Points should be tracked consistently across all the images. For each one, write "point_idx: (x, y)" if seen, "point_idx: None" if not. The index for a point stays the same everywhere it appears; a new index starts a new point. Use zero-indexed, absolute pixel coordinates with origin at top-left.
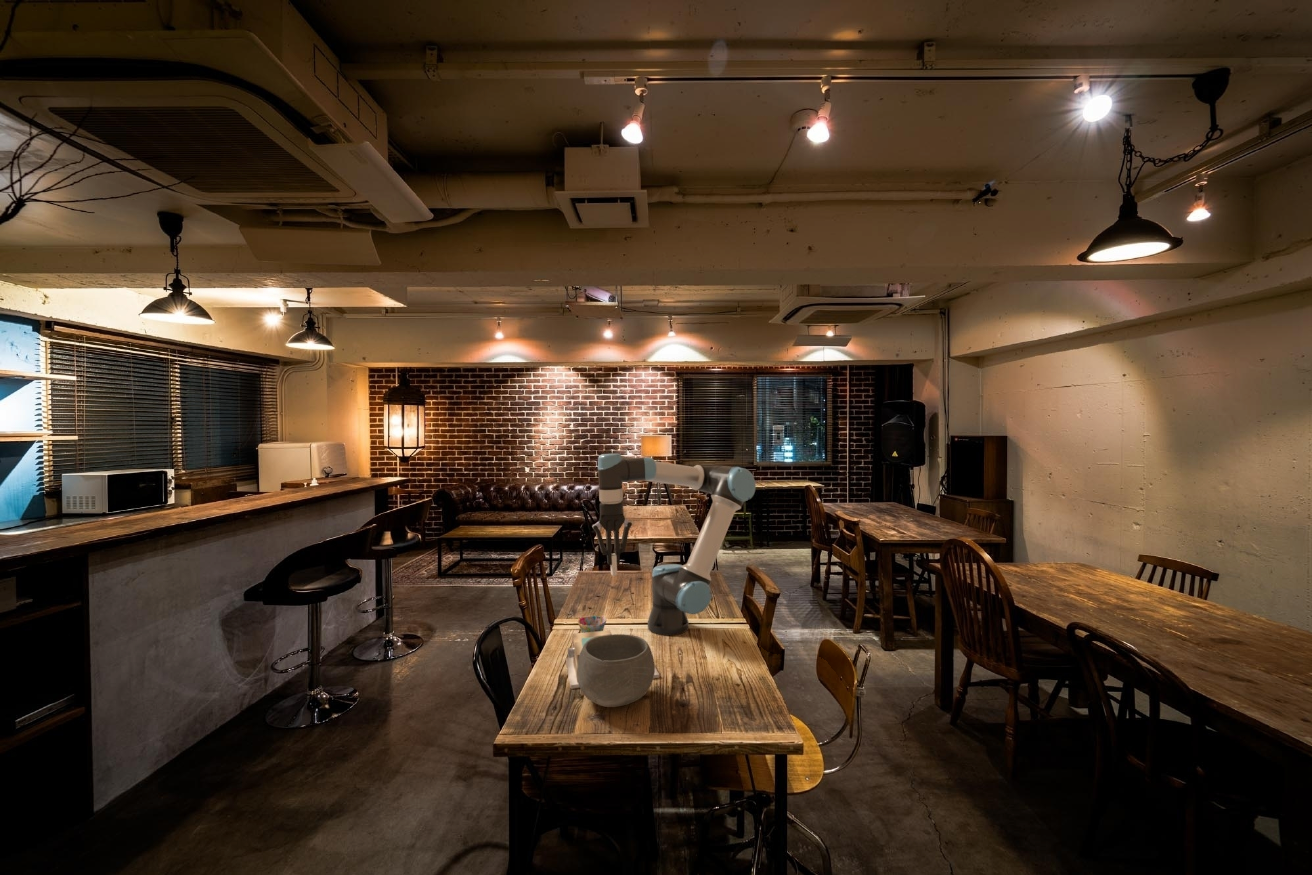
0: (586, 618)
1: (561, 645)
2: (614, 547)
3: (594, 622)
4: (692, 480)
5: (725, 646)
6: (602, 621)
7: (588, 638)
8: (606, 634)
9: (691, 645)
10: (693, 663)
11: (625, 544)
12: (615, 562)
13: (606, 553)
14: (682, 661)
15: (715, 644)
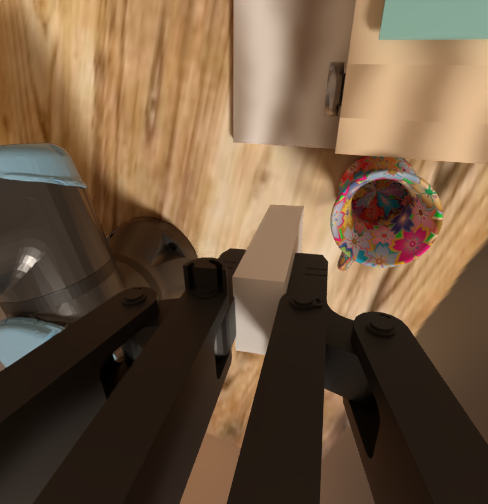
0: (391, 259)
1: (444, 263)
2: (217, 391)
3: (362, 244)
4: None
5: (46, 113)
6: (340, 226)
7: (474, 28)
8: (360, 114)
9: (119, 145)
10: (130, 29)
11: (60, 337)
12: (261, 243)
13: (343, 326)
14: (155, 52)
15: (66, 132)
